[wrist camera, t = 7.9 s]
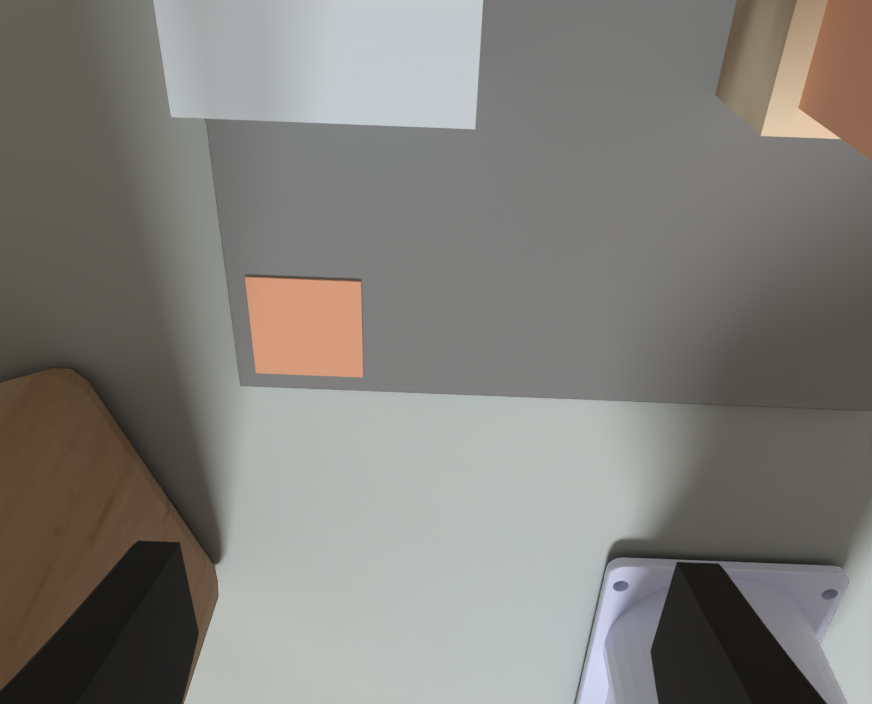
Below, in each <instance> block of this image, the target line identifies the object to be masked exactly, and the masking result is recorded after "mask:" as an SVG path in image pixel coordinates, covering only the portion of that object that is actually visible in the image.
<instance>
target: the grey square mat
mask: <svg viewBox="0 0 872 704" xmlns="http://www.w3.org/2000/svg"><path fill="white" fill-rule="evenodd" d="M736 2H737V0H483V11H482V28H481V44H480V60H479V76H478V93H477V109H476V125H475V129H455V128H430V127H405V126H379V125H354V124H329V123H304V122H279V121H254V120H229V119H206V124H207V132H208V140H209V148H210V155H211V163H212V171H213V178H214V186H215V194H216V202H217V209H218V217H219V225H220V233H221V240H222V248H223V256H224V263H225V271H226V279H227V287H228V294H229V302H230V310H231V317H232V325H233V333H234V341H235V348H236V356H237V364H238V371H239V379H240V386H255V387H280V388H306V389H331V390H356V391H381V392H407V393H432V394H457V395H482V396H508V397H533V398H558V399H583V400H609V401H634V402H659V403H684V404H710V405H735V406H760V407H785V408H811V409H836V410H861V411H872V161H871V160H870V159H868V158H867V157H866V156H864V155H863V154H861V153H860V152H859V151H857V150H856V149H854V148H853V147H852V146H850V145H849V144H847V143H846V142H845V141H843V140H842V139H825V138H799V137H774V136H760V135H759V134H758V133H757V132H756V131H755V130H753V129H752V128H751V127H750V126H749V125H748V124H747V123H746V122H744V121H743V120H742V119H741V118H740V117H739V116H738V115H737V114H735V113H734V112H733V111H732V110H731V109H730V108H729V107H728V106H727V105H725V104H724V103H723V102H722V101H721V100H720V99H719V98H718V97H716V96H715V94H716V90H717V85H718V81H719V76H720V72H721V68H722V63H723V59H724V54H725V50H726V46H727V41H728V37H729V32H730V28H731V24H732V19H733V15H734V10H735V6H736Z"/></svg>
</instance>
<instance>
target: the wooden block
mask: <svg viewBox="0 0 872 704" xmlns="http://www.w3.org/2000/svg"><path fill="white" fill-rule="evenodd" d="M137 541H160V542H180V546H181V550H182V555H183V560H184V564H185V569H186V574H187V579H188V583H189V588H190V593H191V598H192V602H193V607H194V612H195V617H196V621H197V626H198V631H199V635H198V640H197V644H196V648H195V653H194V657H193V662H192V666H191V670H190V674H189V678H188V682H187V686H186V690H185V694H184V698H183V702H182V704H184V701H185V698H186V695H187V692H188V689H189V686H190V683H191V680H192V677H193V674H194V670H195V667H196V664H197V661H198V658H199V655H200V652H201V649H202V646H203V643H204V639H205V636H206V633H207V630H208V627H209V624H210V621H211V618H212V615H213V612H214V609H215V605H216V602H217V599H218V580H217V576H216V571H215V566H214V565H213V563H212V562H211V560H210V559H209V557H208V556H207V555H206V553H205V552H204V550H203V549H202V547H201V546H200V544H199V543H198V541H197V540H196V538H195V537H194V535H193V534H192V533H191V531H190V530H189V528H188V527H187V525H186V524H185V522H184V521H183V519H182V518H181V516H180V515H179V513H178V512H177V511H176V509H175V508H174V506H173V505H172V503H171V502H170V500H169V499H168V497H167V496H166V494H165V493H164V491H163V490H162V489H161V487H160V486H159V484H158V483H157V481H156V480H155V478H154V477H153V475H152V474H151V472H150V471H149V469H148V468H147V467H146V465H145V464H144V462H143V461H142V459H141V458H140V456H139V455H138V453H137V452H136V450H135V449H134V447H133V446H132V445H131V443H130V442H129V440H128V439H127V437H126V436H125V434H124V433H123V431H122V430H121V428H120V427H119V426H118V424H117V423H116V421H115V420H114V418H113V417H112V415H111V414H110V412H109V411H108V409H107V408H106V406H105V405H104V404H103V402H102V401H101V399H100V398H99V396H98V395H97V393H96V392H95V390H94V389H93V387H92V386H91V384H90V383H89V382H88V381H87V380H86V379H84V378H83V377H82V376H80V375H79V374H78V373H76V372H75V371H74V370H72V369H64V368H50V369H47V370H43V371H40V372H36V373H32V374H29V375H25V376H22V377H18V378H14V379H11V380H7V381H4V382H0V690H1V689H2V688H3V687H4V686H5V685H6V684H7V683H8V682H9V681H10V680H11V679H12V678H13V677H14V676H15V675H16V674H17V673H18V672H19V671H20V670H21V669H22V668H23V667H24V666H25V664H26V663H27V662H28V661H29V660H30V659H31V658H32V657H33V656H34V655H35V654H36V653H37V652H38V651H39V649H40V648H41V647H42V646H43V645H44V644H45V643H46V642H47V641H48V640H49V639H50V638H51V637H52V635H53V634H54V633H55V632H56V631H57V630H58V629H59V628H60V627H61V626H62V625H63V624H64V623H65V621H66V620H67V619H68V618H69V617H70V616H71V615H72V614H73V612H74V611H75V610H76V609H77V608H78V607H79V606H80V605H81V603H82V602H83V601H84V600H85V599H86V598H87V597H88V596H89V594H90V593H91V592H92V591H93V590H94V589H95V588H96V586H97V585H98V584H99V583H100V582H101V581H102V580H103V578H104V577H105V576H106V575H107V574H108V573H109V571H110V570H111V569H112V568H113V567H114V566H115V565H116V563H117V562H118V561H119V560H120V559H121V558H122V556H123V555H124V554H125V553H126V552H127V551H128V549H129V548H130V547H131V546H132V545H133V544H135V543H136V542H137Z"/></svg>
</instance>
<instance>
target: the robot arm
mask: <svg viewBox="0 0 872 704" xmlns="http://www.w3.org/2000/svg"><path fill="white" fill-rule="evenodd" d="M618 581H622V582H618ZM848 584H849V578H848V576H847V574H846V572H845V571H844V569H843V568H841V567H838V566H827V565H802V564H777V563H752V562H726V561H701V560H676V559H650V558H625V557H623V558H616V559H614V560H612V561H611V562H610V563H608V565H607V567H606V571H605V575H604V580H603V584H602V589H601V593H600V598H599V602H598V607H597V611H596V615H595V620H594V624H593V629H592V633H591V638H590V642H589V646H588V651H587V655H586V660H585V664H584V669H583V673H582V677H581V682H580V686H579V691H578V695H577V700H576V704H847V701H846V699H845V697H844V695H843V693H842V691H841V689H840V686H839V684H838V682H837V680H836V678H835V676H834V674H833V671H832V669H831V667H830V665H829V663H828V661H827V659H826V656H825V654H824V652H823V650H822V648H821V646H820V642H821V640H822V638H823V636H824V634H825V632H826V629H827V627H828V625H829V623H830V621H831V619H832V617H833V615H834V613H835V611H836V609H837V607H838V605H839V603H840V601H841V599H842V596H843V594H844V592H845V590H846V588H847V586H848ZM198 635H199V631H198V626H197V621H196V617H195V612H194V607H193V602H192V598H191V593H190V588H189V583H188V579H187V574H186V569H185V564H184V560H183V555H182V550H181V546H180V542H160V541H137V542H136V543H135V544H133V545H132V546H131V547H130V548H129V549H128V551H127V552H126V553H125V554H124V555H123V556H122V558H121V559H120V560H119V561H118V562H117V563H116V565H115V566H114V567H113V568H112V569H111V570H110V571H109V573H108V574H107V575H106V576H105V577H104V578H103V580H102V581H101V582H100V583H99V584H98V585H97V586H96V588H95V589H94V590H93V591H92V592H91V593H90V594H89V596H88V597H87V598H86V599H85V600H84V601H83V602H82V603H81V605H80V606H79V607H78V608H77V609H76V610H75V611H74V612H73V614H72V615H71V616H70V617H69V618H68V619H67V620H66V621H65V623H64V624H63V625H62V626H61V627H60V628H59V629H58V630H57V631H56V632H55V633H54V634H53V635H52V637H51V638H50V639H49V640H48V641H47V642H46V643H45V644H44V645H43V646H42V647H41V648H40V649H39V651H38V652H37V653H36V654H35V655H34V656H33V657H32V658H31V659H30V660H29V661H28V662H27V663H26V664H25V666H24V667H23V668H22V669H21V670H20V671H19V672H18V673H17V674H16V675H15V676H14V677H13V678H12V679H11V680H10V681H9V682H8V683H7V684H6V685H5V686H4V687H3V688H2V689H1V690H0V704H182V702H183V698H184V694H185V690H186V686H187V682H188V678H189V674H190V670H191V666H192V662H193V657H194V653H195V648H196V644H197V640H198Z"/></svg>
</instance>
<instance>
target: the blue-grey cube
mask: <svg viewBox="0 0 872 704" xmlns="http://www.w3.org/2000/svg"><path fill="white" fill-rule="evenodd" d="M153 3H154V10H155V16H156V23H157V29H158V36H159V42H160V49H161V55H162V62H163V68H164V75H165V81H166V88H167V94H168V101H169V107H170V114H171V117H178V118H204V119H229V120H254V121H279V122H304V123H329V124H354V125H379V126H405V127H430V128H455V129H475V125H476V109H477V93H478V76H479V60H480V44H481V28H482V11H483V0H153Z"/></svg>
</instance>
